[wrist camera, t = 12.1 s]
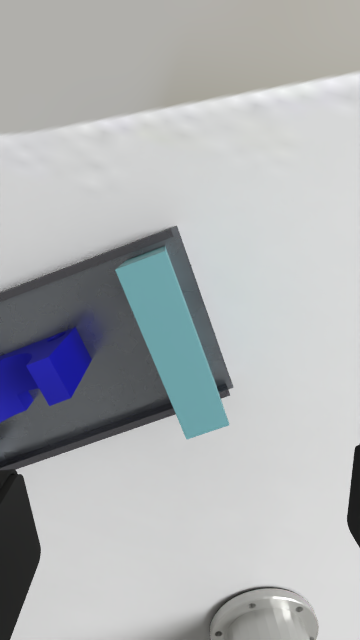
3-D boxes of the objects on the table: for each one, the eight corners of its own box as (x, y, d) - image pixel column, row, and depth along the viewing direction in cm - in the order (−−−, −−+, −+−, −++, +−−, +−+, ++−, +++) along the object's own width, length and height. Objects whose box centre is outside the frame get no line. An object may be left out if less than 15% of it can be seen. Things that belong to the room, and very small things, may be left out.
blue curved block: (-31, 424, 27) (-85, 478, 21) (-61, 379, 25) (-127, 424, 20) (99, 375, 26) (81, 417, 20) (75, 326, 25) (48, 356, 19)
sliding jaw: (215, 383, 26) (229, 424, 21) (181, 395, 27) (186, 439, 21) (164, 245, 23) (165, 250, 18) (126, 259, 23) (115, 269, 18)
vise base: (229, 379, 28) (252, 430, 21) (-43, 474, 30) (-109, 552, 23) (176, 226, 24) (181, 224, 17) (-135, 343, 26) (-249, 387, 19)
